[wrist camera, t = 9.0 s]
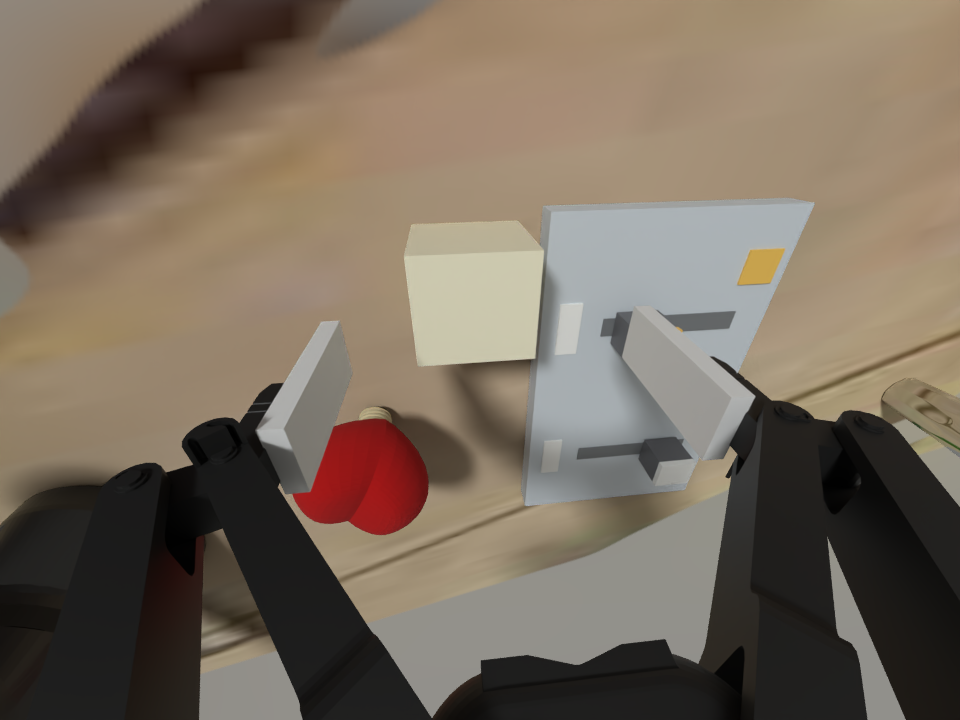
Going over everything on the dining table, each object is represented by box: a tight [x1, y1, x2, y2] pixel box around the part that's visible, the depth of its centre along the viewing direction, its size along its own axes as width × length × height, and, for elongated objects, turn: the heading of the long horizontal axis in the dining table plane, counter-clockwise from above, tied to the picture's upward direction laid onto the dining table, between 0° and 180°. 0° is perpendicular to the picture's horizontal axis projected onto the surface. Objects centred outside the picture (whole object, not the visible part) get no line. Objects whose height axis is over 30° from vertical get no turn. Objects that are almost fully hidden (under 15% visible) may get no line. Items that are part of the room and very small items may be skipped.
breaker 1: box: [610, 310, 683, 357], centre depth 25 cm, size 3×2×3 cm
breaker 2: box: [638, 437, 696, 486], centre depth 32 cm, size 3×2×3 cm
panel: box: [521, 198, 815, 506], centre depth 30 cm, size 17×28×2 cm, turn 1°
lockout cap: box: [404, 221, 544, 366], centre depth 22 cm, size 7×6×7 cm
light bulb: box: [293, 407, 429, 535], centre depth 27 cm, size 9×7×10 cm
